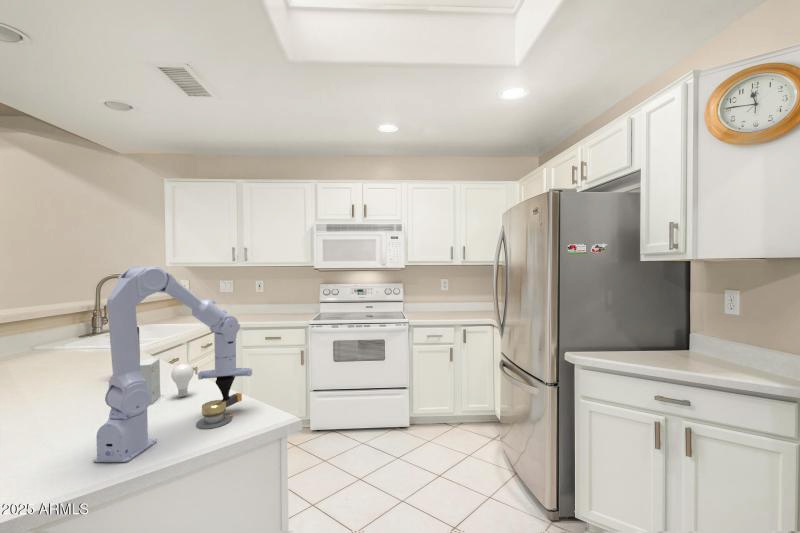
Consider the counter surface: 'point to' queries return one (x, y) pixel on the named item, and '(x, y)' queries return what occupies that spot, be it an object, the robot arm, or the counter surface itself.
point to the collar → (220, 405)
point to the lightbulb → (182, 378)
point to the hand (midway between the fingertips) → (226, 401)
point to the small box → (151, 376)
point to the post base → (206, 426)
